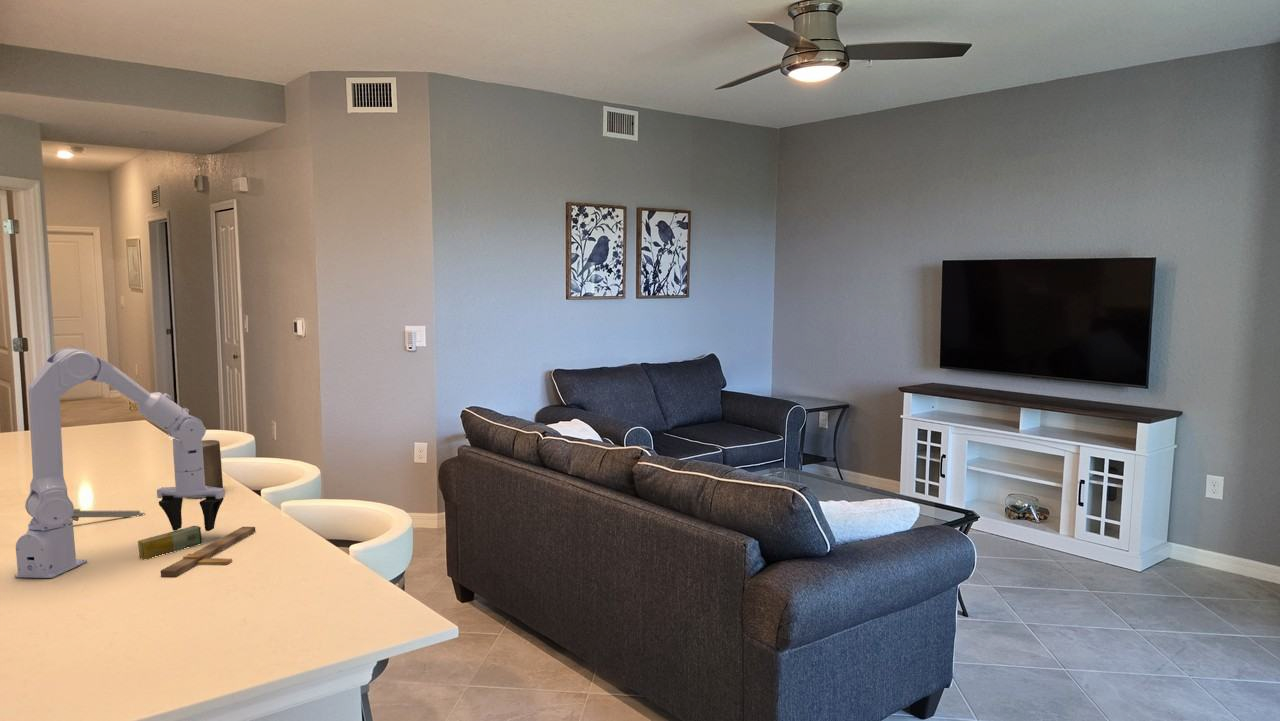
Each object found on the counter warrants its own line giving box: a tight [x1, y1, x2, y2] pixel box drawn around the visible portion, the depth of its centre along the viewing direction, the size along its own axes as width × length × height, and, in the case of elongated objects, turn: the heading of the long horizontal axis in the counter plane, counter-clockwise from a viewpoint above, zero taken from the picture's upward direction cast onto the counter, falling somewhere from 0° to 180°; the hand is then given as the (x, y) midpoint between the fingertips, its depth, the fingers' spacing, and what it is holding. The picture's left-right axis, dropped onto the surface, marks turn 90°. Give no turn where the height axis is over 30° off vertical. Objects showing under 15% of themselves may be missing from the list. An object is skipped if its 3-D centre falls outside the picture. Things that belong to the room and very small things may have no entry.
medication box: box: [137, 525, 203, 560], centre depth 176 cm, size 12×3×4 cm, turn 146°
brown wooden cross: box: [160, 526, 256, 578], centre depth 174 cm, size 28×9×2 cm, turn 175°
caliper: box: [71, 508, 146, 522], centre depth 197 cm, size 20×1×6 cm, turn 129°
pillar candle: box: [202, 439, 224, 488], centre depth 221 cm, size 10×10×15 cm
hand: (193, 529), depth 184 cm, fingers open, 7 cm apart
